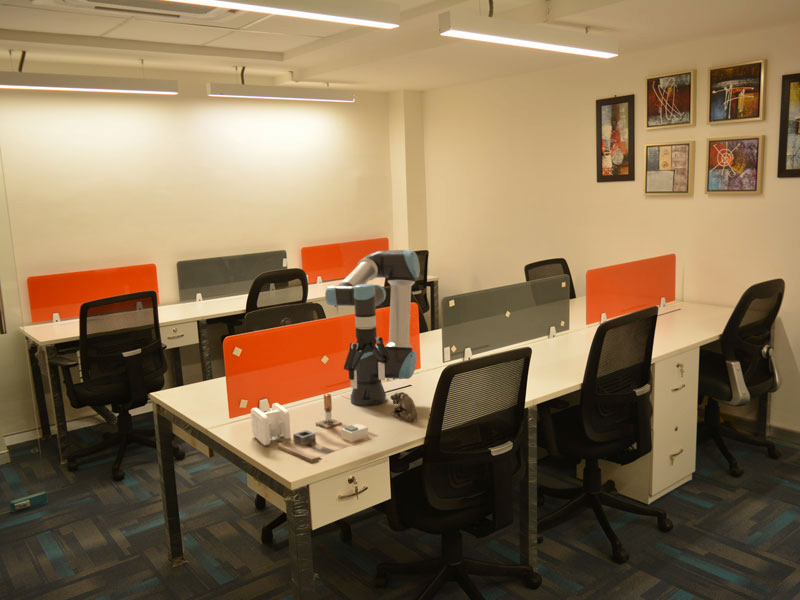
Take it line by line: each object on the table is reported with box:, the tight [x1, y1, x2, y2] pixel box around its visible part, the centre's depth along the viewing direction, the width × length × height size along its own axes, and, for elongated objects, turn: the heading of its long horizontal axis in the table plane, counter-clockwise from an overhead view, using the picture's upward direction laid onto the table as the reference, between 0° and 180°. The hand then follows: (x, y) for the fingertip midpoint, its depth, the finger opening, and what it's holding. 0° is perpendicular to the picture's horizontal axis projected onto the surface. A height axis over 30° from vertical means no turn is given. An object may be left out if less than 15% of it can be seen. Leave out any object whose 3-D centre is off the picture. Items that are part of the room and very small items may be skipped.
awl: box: [323, 393, 333, 424], centre depth 262 cm, size 3×3×13 cm
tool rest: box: [315, 418, 343, 429], centre depth 263 cm, size 7×7×2 cm
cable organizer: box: [250, 402, 292, 446], centre depth 252 cm, size 15×11×12 cm
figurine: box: [390, 391, 418, 422], centre depth 271 cm, size 6×14×10 cm, turn 29°
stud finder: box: [341, 423, 369, 442], centre depth 249 cm, size 8×6×4 cm
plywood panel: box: [277, 422, 379, 464], centre depth 247 cm, size 30×20×4 cm, turn 133°
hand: (368, 383), depth 253 cm, fingers open, 13 cm apart
